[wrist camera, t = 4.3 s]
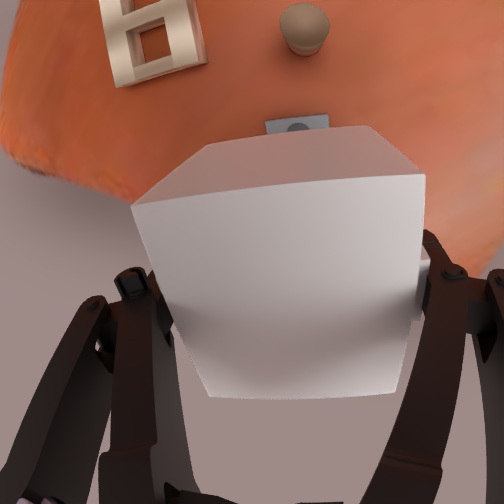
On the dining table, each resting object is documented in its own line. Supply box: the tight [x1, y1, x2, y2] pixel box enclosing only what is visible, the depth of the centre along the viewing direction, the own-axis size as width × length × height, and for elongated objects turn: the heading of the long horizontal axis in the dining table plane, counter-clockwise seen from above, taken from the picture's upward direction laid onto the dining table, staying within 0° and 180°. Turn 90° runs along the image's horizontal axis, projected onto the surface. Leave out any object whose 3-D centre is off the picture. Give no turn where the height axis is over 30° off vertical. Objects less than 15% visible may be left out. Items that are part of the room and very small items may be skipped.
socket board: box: [99, 0, 208, 88], centre depth 24 cm, size 13×9×3 cm
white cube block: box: [130, 125, 425, 399], centre depth 13 cm, size 9×8×8 cm
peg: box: [280, 3, 330, 57], centre depth 20 cm, size 3×3×10 cm
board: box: [265, 114, 330, 135], centre depth 28 cm, size 7×6×5 cm
